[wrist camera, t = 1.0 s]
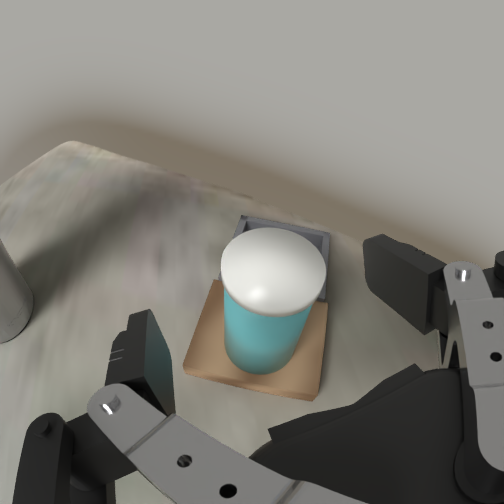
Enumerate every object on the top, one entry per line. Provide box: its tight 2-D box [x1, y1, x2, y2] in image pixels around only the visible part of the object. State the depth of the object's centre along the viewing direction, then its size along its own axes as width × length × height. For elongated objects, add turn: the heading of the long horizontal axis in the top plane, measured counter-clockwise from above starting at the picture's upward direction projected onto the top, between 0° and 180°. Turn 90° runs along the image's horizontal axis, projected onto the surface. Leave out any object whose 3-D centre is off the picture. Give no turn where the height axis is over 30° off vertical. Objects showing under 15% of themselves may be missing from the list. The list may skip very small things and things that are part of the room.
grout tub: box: [221, 228, 326, 375], centre depth 25 cm, size 7×7×11 cm
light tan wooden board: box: [183, 280, 328, 401], centre depth 30 cm, size 12×10×2 cm
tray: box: [219, 215, 330, 302], centre depth 37 cm, size 11×10×3 cm
